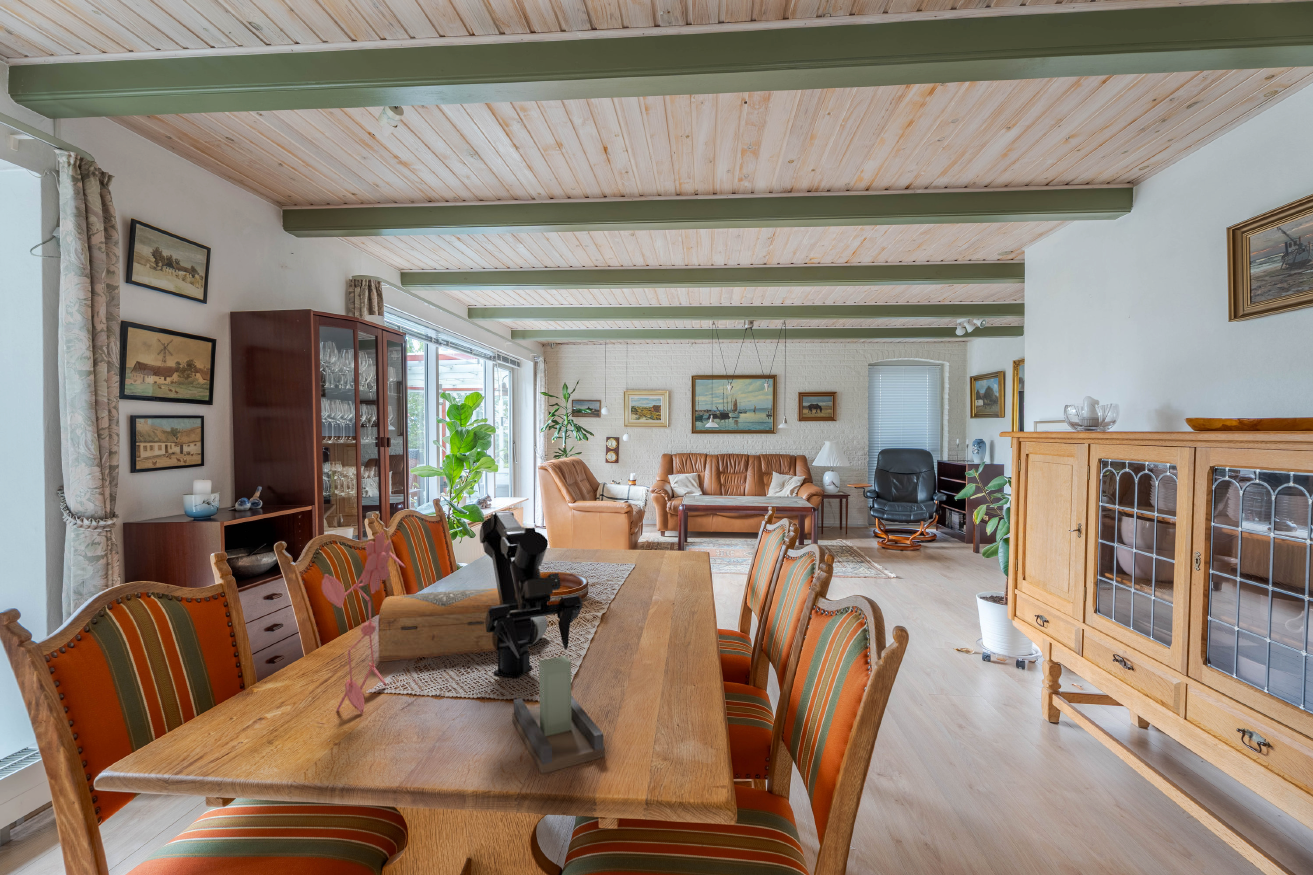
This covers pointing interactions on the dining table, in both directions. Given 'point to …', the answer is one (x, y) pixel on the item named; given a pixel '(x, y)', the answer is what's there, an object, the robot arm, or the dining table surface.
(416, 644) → the wooden box
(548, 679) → the sage green panelled box
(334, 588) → the pink leafy branch
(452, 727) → the dining table surface
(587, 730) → the door track
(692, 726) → the dining table surface
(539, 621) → the ceramic mug
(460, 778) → the dining table surface
